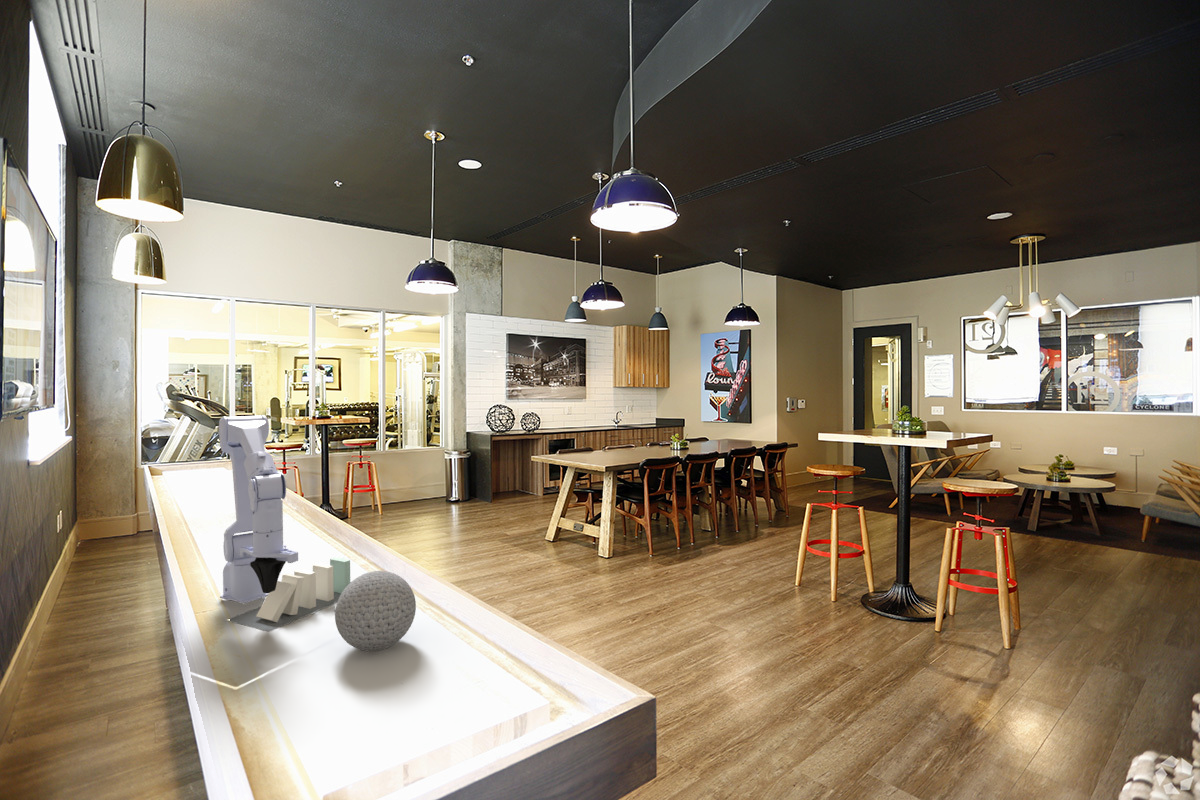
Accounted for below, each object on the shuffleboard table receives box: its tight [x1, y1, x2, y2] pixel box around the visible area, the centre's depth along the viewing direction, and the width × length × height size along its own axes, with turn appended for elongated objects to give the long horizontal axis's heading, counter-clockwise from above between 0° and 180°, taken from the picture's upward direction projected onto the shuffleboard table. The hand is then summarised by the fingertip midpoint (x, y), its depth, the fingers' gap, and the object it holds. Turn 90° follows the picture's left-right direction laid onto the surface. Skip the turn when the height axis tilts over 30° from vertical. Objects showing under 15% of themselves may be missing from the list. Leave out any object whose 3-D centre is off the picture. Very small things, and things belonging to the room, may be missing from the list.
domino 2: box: [280, 573, 304, 615], centre depth 134 cm, size 2×5×8 cm, turn 66°
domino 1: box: [256, 581, 296, 622], centre depth 131 cm, size 2×5×8 cm
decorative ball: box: [334, 570, 417, 652], centre depth 118 cm, size 15×15×15 cm
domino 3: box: [293, 568, 316, 609], centre depth 137 cm, size 2×5×8 cm, turn 66°
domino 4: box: [312, 562, 334, 601], centre depth 142 cm, size 2×5×8 cm, turn 66°
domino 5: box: [329, 556, 351, 593], centre depth 146 cm, size 2×5×8 cm, turn 66°
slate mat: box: [228, 581, 352, 633], centre depth 140 cm, size 14×29×1 cm, turn 156°
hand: (269, 591), depth 129 cm, fingers closed
